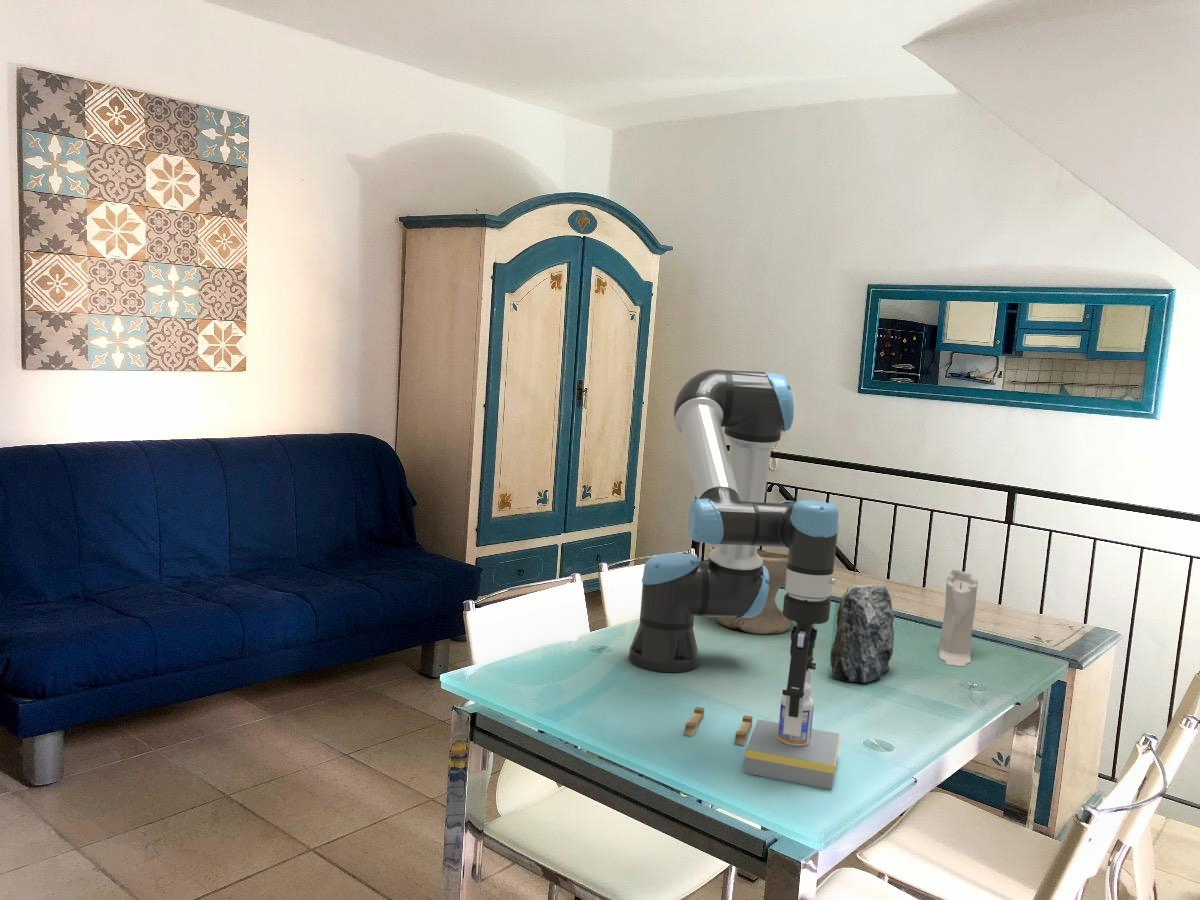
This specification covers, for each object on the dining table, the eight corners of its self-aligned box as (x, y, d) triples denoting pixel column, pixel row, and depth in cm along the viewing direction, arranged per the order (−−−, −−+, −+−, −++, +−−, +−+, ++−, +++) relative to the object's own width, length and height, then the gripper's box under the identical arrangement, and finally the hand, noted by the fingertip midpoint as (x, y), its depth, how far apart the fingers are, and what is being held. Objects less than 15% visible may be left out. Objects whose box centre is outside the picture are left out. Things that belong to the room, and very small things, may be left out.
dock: (743, 772, 159) (745, 749, 159) (755, 740, 173) (757, 719, 172) (832, 790, 155) (835, 765, 155) (837, 755, 169) (840, 733, 168)
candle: (939, 663, 226) (948, 578, 223) (938, 647, 239) (947, 566, 237) (972, 668, 223) (981, 583, 221) (970, 652, 236) (979, 570, 234)
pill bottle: (787, 731, 168) (792, 676, 167) (815, 741, 164) (821, 685, 163) (771, 739, 164) (776, 683, 162) (800, 750, 160) (805, 692, 159)
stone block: (859, 689, 204) (869, 595, 202) (823, 676, 211) (831, 586, 208) (903, 672, 217) (913, 585, 215) (868, 661, 223) (876, 576, 221)
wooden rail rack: (684, 734, 173) (684, 725, 173) (695, 715, 183) (696, 706, 183) (743, 745, 170) (744, 735, 170) (751, 725, 180) (752, 716, 180)
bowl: (819, 624, 251) (826, 548, 249) (782, 646, 230) (790, 563, 228) (727, 605, 265) (734, 532, 263) (685, 624, 243) (691, 545, 241)
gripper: (825, 617, 148) (812, 752, 150) (835, 582, 172) (824, 699, 174) (775, 610, 150) (763, 743, 153) (792, 576, 174) (781, 692, 176)
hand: (795, 720), depth 163 cm, fingers open, 13 cm apart
